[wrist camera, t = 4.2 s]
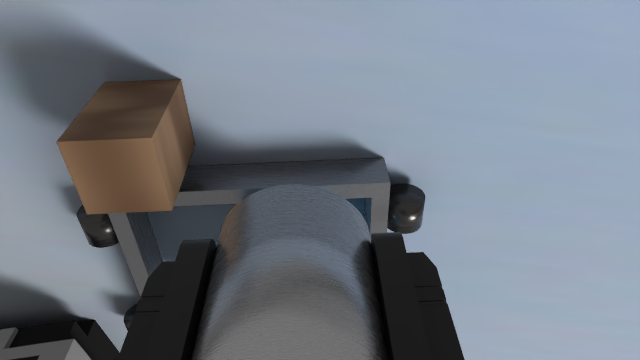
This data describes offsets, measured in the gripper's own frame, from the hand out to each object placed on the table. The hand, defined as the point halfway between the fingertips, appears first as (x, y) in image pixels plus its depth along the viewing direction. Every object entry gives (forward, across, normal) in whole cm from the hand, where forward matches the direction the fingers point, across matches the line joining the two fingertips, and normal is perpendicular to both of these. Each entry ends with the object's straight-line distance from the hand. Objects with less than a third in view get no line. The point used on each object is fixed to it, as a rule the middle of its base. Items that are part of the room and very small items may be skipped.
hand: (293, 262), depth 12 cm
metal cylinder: (+1, 0, 0) cm, 1 cm away
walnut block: (+15, +8, +3) cm, 17 cm away
